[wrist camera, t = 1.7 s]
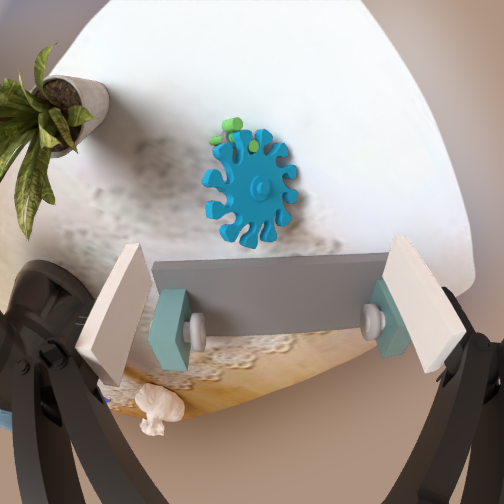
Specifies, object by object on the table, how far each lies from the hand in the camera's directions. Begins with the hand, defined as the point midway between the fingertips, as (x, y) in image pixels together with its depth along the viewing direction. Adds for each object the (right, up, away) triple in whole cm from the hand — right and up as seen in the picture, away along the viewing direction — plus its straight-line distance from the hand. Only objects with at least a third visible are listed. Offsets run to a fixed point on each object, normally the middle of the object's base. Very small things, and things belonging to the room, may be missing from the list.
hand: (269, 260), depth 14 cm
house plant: (-18, +15, +7) cm, 24 cm away
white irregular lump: (-20, -29, +38) cm, 52 cm away
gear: (-1, +8, +12) cm, 15 cm away
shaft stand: (+3, -5, +21) cm, 22 cm away
